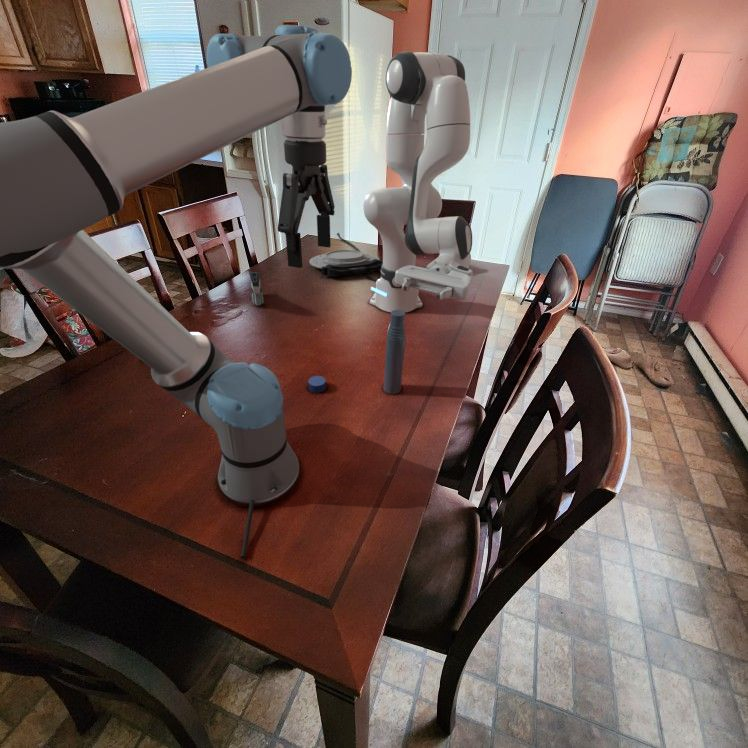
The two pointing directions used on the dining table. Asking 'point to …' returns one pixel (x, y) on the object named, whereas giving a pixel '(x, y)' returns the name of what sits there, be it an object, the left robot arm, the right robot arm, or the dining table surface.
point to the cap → (317, 384)
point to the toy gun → (256, 289)
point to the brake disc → (346, 263)
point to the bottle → (394, 353)
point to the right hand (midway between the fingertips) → (421, 292)
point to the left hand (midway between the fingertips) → (310, 255)
